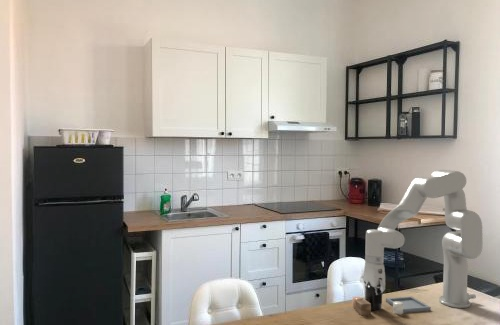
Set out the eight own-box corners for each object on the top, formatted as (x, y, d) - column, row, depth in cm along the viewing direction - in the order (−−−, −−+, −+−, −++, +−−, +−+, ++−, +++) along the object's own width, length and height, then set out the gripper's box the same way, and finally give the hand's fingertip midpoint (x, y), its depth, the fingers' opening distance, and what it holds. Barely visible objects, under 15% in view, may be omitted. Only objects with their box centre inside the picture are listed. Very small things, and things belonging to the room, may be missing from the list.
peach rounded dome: (359, 305, 175) (359, 296, 175) (364, 309, 171) (364, 299, 171) (351, 306, 174) (351, 297, 174) (355, 309, 170) (355, 300, 170)
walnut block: (365, 310, 170) (365, 299, 170) (370, 314, 166) (370, 303, 166) (355, 311, 169) (355, 300, 169) (360, 315, 165) (360, 304, 165)
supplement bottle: (382, 311, 169) (383, 282, 169) (365, 310, 170) (366, 281, 170) (380, 305, 176) (381, 278, 175) (364, 304, 177) (364, 276, 177)
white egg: (399, 310, 170) (399, 301, 170) (405, 314, 167) (405, 304, 166) (390, 311, 169) (391, 301, 169) (396, 314, 166) (396, 305, 166)
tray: (411, 299, 183) (411, 296, 183) (430, 310, 171) (430, 307, 171) (385, 301, 180) (385, 298, 180) (403, 312, 168) (403, 309, 168)
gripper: (393, 264, 165) (392, 307, 165) (371, 253, 182) (370, 293, 182) (377, 264, 163) (376, 308, 163) (356, 254, 180) (355, 294, 180)
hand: (373, 300), depth 173 cm, fingers closed on supplement bottle, 6 cm apart
